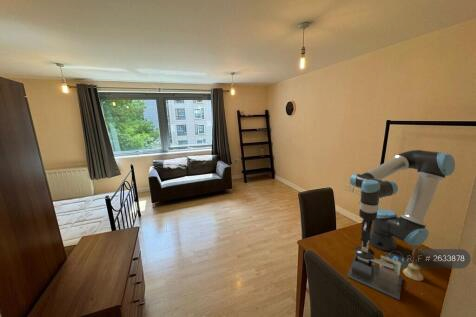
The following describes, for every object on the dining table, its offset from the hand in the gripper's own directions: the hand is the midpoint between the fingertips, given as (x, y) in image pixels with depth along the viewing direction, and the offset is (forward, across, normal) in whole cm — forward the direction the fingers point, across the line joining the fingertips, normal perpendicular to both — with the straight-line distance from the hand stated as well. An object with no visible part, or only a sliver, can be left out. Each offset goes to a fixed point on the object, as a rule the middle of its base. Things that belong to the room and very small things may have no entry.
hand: (364, 251), depth 105 cm
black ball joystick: (+9, 0, +4) cm, 10 cm away
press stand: (+14, 0, +5) cm, 15 cm away
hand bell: (+14, -15, +20) cm, 29 cm away
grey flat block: (+4, +1, +11) cm, 12 cm away
